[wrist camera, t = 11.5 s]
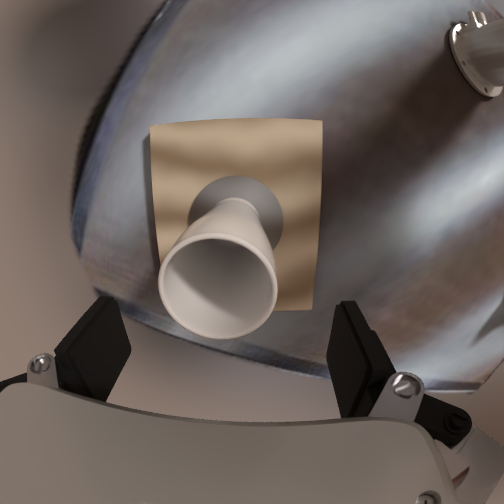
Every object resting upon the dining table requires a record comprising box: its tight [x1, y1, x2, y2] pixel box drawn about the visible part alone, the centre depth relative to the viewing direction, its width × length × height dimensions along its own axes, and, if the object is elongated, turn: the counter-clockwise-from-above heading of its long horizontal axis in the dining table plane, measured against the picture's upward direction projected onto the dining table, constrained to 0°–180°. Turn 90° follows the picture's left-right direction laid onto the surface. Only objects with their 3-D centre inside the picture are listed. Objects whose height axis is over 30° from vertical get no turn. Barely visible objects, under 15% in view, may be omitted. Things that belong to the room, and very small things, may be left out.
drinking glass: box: [158, 197, 278, 339], centre depth 21 cm, size 7×7×15 cm
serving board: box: [150, 118, 322, 311], centre depth 29 cm, size 22×18×2 cm
